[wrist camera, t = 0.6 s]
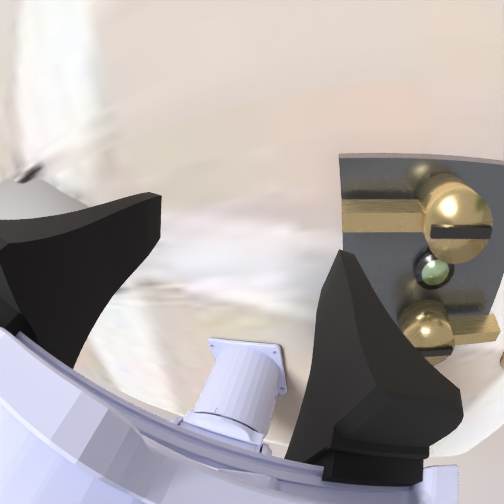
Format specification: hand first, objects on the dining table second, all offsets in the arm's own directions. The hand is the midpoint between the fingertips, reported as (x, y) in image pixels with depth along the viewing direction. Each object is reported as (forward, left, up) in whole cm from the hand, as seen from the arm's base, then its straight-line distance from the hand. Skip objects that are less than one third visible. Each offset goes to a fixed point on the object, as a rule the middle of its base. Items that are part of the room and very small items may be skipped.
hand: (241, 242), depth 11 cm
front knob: (-2, -8, -8) cm, 12 cm away
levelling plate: (-7, -11, -10) cm, 16 cm away
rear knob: (-12, -13, -8) cm, 20 cm away
